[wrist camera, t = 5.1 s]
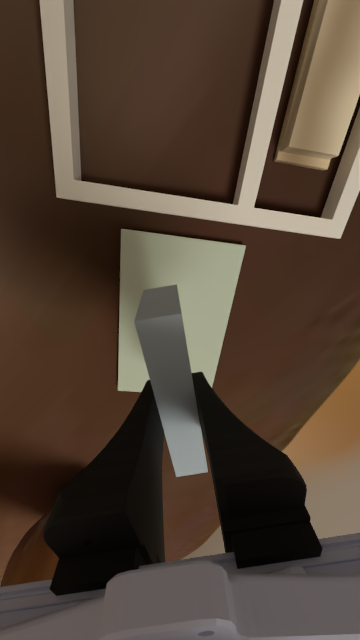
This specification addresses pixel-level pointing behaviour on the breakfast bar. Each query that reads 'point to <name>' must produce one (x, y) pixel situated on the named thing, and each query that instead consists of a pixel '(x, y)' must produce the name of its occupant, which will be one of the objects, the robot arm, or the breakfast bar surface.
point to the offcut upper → (326, 82)
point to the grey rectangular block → (171, 376)
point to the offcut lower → (284, 156)
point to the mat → (194, 294)
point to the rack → (352, 174)
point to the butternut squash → (31, 558)
